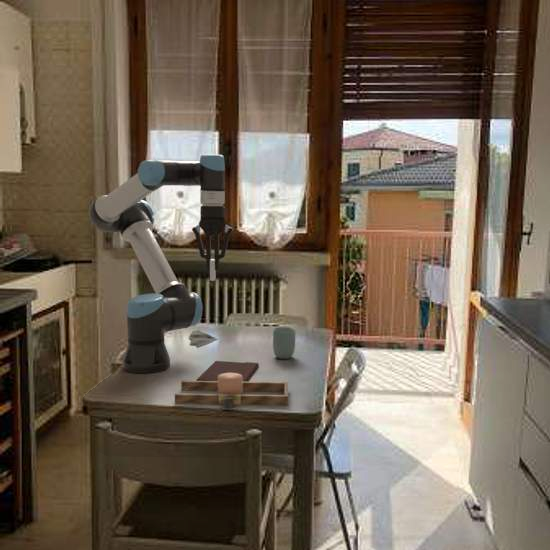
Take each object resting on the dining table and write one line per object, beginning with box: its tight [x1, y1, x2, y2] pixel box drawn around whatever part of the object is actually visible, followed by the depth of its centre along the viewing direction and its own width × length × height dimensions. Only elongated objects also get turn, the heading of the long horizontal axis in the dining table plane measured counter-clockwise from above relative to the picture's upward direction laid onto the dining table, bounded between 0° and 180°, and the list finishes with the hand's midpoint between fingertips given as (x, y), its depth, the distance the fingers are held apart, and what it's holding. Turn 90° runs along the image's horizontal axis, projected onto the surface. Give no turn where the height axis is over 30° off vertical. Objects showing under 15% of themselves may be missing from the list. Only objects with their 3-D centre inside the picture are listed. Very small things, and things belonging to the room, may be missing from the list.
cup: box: [272, 326, 296, 360], centre depth 210 cm, size 8×8×10 cm
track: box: [174, 380, 289, 409], centre depth 170 cm, size 31×14×2 cm, turn 89°
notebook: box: [195, 360, 260, 382], centre depth 191 cm, size 15×20×2 cm
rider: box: [217, 373, 243, 395], centre depth 171 cm, size 7×7×6 cm
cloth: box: [188, 329, 218, 349], centre depth 234 cm, size 26×14×2 cm, turn 175°
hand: (212, 279), depth 192 cm, fingers closed
